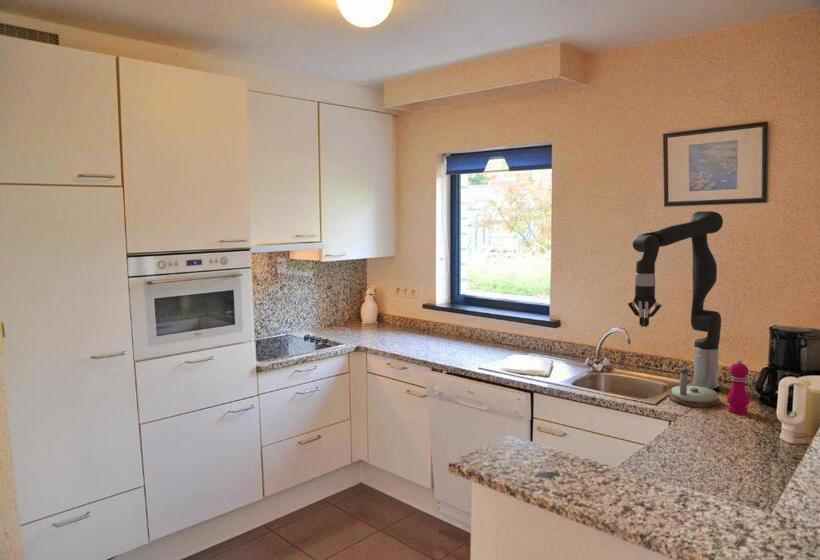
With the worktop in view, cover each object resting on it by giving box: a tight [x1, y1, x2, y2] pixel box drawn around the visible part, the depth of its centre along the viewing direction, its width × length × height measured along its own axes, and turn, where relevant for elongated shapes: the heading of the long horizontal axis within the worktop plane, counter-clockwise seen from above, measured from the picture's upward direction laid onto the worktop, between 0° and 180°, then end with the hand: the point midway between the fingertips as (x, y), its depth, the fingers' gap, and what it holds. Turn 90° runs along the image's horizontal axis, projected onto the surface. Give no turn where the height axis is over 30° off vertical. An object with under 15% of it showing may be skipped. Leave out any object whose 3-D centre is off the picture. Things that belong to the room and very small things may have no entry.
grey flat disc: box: [668, 391, 720, 409], centre depth 233 cm, size 18×18×2 cm
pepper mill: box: [726, 359, 750, 415], centre depth 218 cm, size 7×7×20 cm
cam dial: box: [671, 368, 718, 403], centre depth 232 cm, size 16×16×12 cm
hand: (644, 326), depth 238 cm, fingers closed
